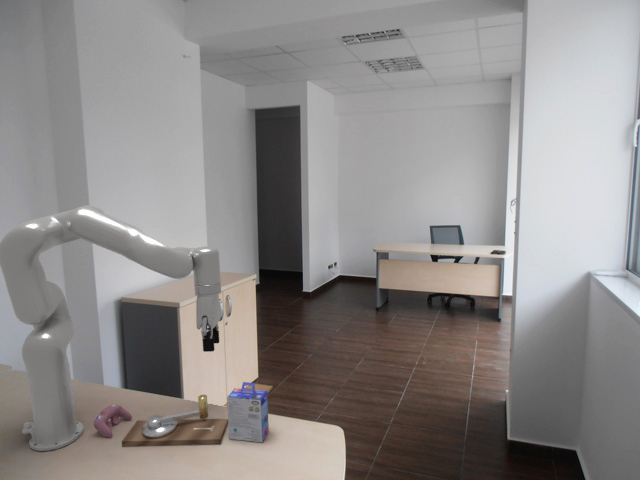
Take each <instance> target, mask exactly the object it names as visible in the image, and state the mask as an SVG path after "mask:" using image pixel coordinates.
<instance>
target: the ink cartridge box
mask: <svg viewBox="0 0 640 480" xmlns="http://www.w3.org/2000/svg"><path fill="white" fill-rule="evenodd" d="M246 386H250V387H252V388H247V387H246ZM226 398H227V399H226V400H227V402H226V403H227V419H228V426H227V427H228V439H230V440H236V441H238V440H239V441H247V442H258V443H264V442H263V441H264V440H265V439H266V437H267V435H268V434H269V433H270V431H269V429H270V428H269V427H270V426H269V405H268V404H269V403H268V402H269V401H268V390H265V389H263V390H262V389H256V383H255V382H248V381H247V382H246V381H242V384H241V388H234V389H233V390H232V391H231V392H230V394H229V395H228V396H227V397H226Z"/></svg>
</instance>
